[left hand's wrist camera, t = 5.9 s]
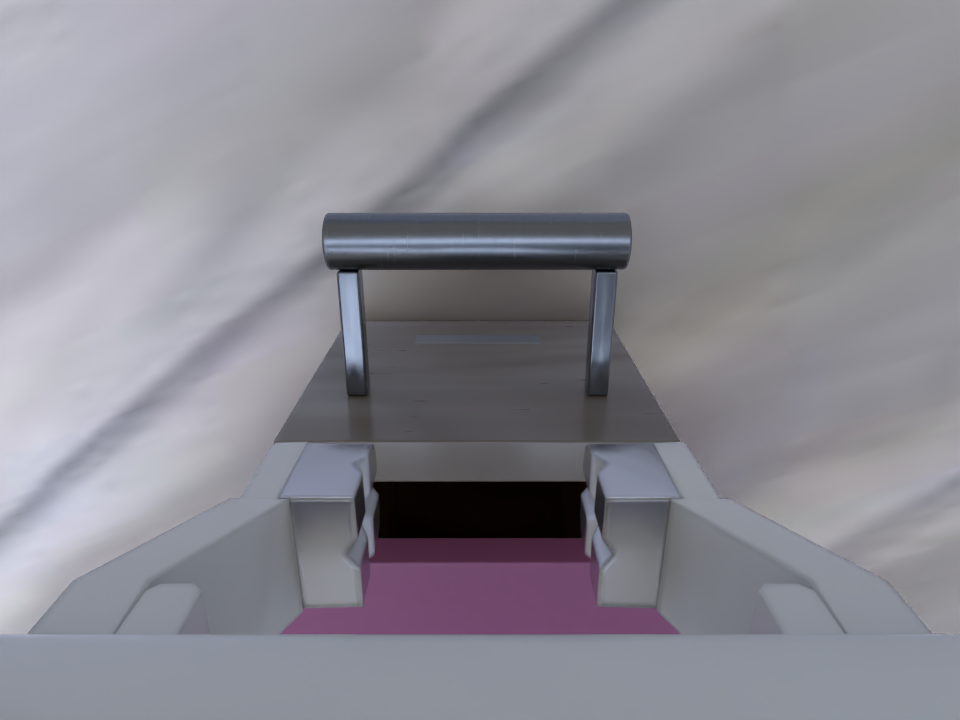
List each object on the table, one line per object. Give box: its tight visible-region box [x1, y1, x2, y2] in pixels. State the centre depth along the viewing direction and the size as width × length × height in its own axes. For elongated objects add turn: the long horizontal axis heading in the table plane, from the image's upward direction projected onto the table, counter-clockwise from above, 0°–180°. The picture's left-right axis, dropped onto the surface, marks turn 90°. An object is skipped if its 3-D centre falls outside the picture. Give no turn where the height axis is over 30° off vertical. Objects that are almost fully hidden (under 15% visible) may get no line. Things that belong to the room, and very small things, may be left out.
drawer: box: [274, 213, 680, 538], centre depth 23 cm, size 23×10×10 cm, turn 0°
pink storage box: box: [280, 538, 680, 634], centre depth 25 cm, size 20×11×12 cm, turn 0°
